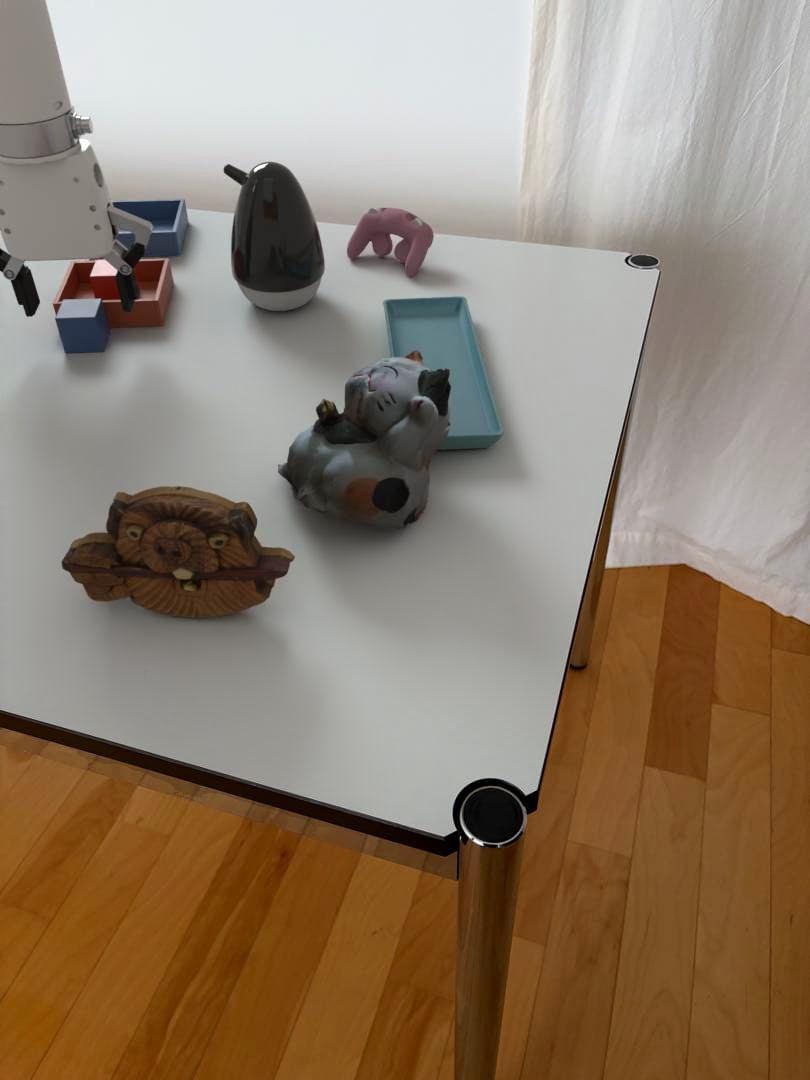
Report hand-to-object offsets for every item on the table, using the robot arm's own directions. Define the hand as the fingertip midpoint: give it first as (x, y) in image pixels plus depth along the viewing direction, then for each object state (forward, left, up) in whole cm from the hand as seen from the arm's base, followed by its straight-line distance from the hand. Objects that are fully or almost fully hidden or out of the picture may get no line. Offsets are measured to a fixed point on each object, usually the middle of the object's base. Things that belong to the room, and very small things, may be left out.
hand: (81, 308), depth 92 cm
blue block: (0, 0, -4) cm, 4 cm away
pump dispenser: (+20, +8, -4) cm, 22 cm away
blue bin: (+2, +25, -4) cm, 26 cm away
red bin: (+2, +8, -4) cm, 9 cm away
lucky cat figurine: (+28, -26, -4) cm, 38 cm away
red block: (+2, +8, -4) cm, 9 cm away
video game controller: (+33, +17, -4) cm, 37 cm away
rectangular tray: (+36, -9, -4) cm, 37 cm away
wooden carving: (+14, -39, -4) cm, 41 cm away
